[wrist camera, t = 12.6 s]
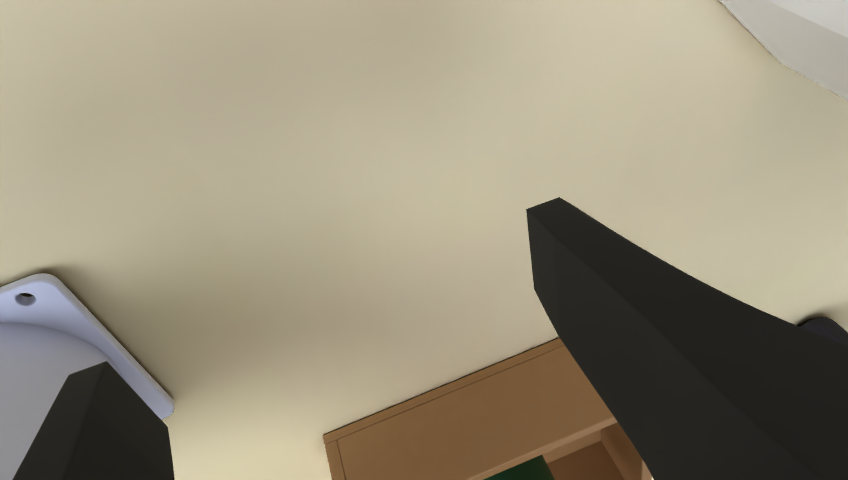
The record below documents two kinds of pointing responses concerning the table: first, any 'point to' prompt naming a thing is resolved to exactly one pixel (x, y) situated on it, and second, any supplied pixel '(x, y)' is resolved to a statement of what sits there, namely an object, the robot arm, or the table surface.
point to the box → (493, 428)
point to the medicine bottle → (801, 36)
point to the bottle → (526, 471)
